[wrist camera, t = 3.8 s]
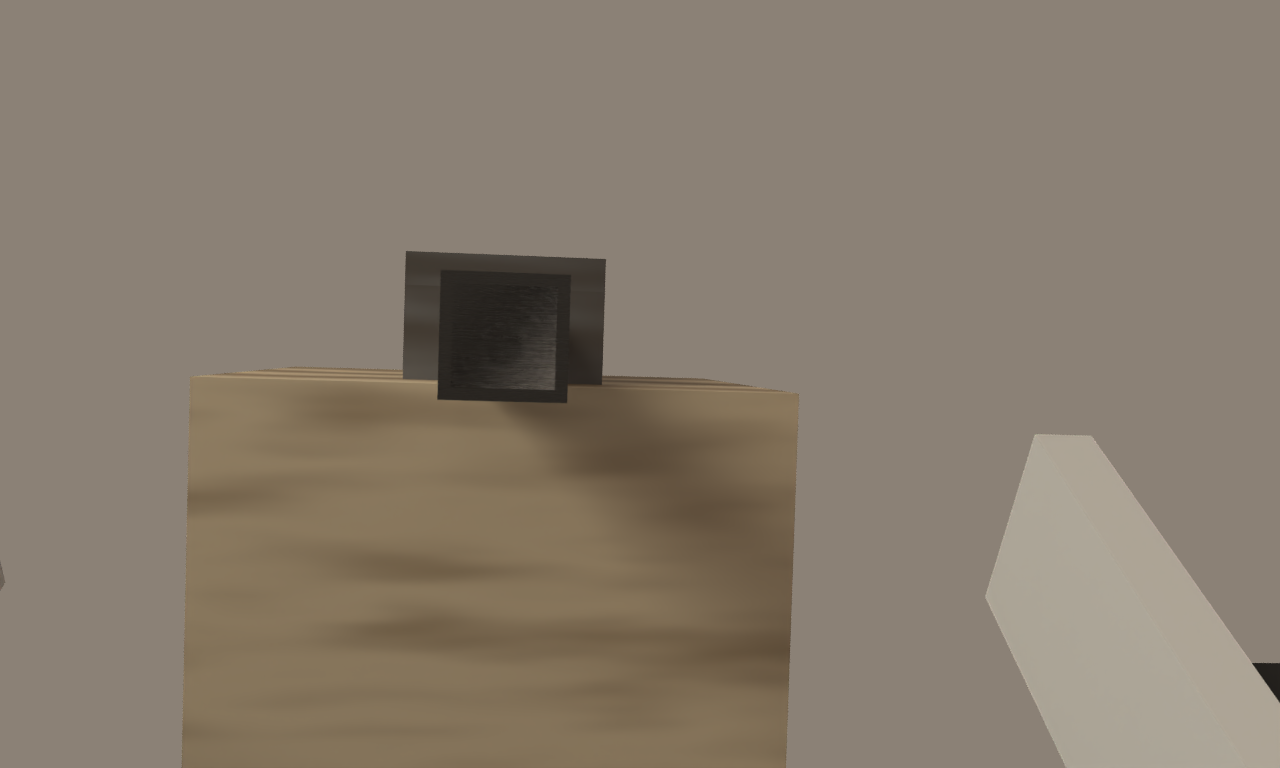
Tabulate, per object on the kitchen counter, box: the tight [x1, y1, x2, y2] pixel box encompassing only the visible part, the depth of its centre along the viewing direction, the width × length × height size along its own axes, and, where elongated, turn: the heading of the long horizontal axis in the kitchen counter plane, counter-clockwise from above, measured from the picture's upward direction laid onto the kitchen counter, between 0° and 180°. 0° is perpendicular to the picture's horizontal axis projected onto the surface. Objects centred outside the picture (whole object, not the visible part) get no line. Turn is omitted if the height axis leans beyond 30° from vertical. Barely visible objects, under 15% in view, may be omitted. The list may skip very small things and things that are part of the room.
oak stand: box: [182, 251, 799, 768], centre depth 50 cm, size 20×20×38 cm
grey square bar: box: [437, 270, 571, 403], centre depth 43 cm, size 30×3×3 cm, turn 6°
